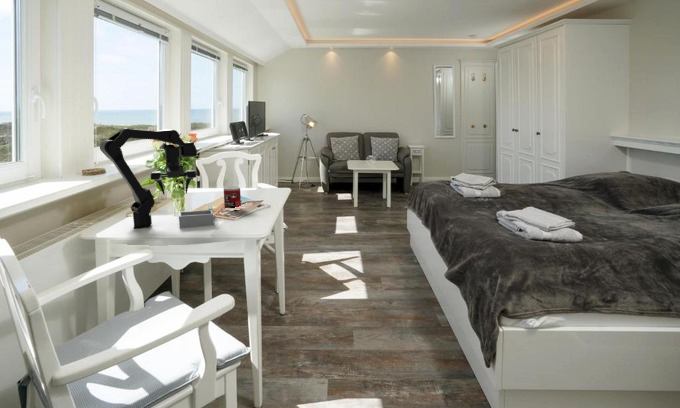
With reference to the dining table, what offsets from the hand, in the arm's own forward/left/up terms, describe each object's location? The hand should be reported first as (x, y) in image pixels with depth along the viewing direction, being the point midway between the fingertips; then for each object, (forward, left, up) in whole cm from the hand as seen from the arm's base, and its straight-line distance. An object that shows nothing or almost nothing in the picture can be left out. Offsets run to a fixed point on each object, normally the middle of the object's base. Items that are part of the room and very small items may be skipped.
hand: (175, 194), depth 210 cm
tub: (+8, -10, -12) cm, 18 cm away
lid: (+8, +2, -12) cm, 15 cm away
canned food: (+26, +14, -12) cm, 32 cm away
